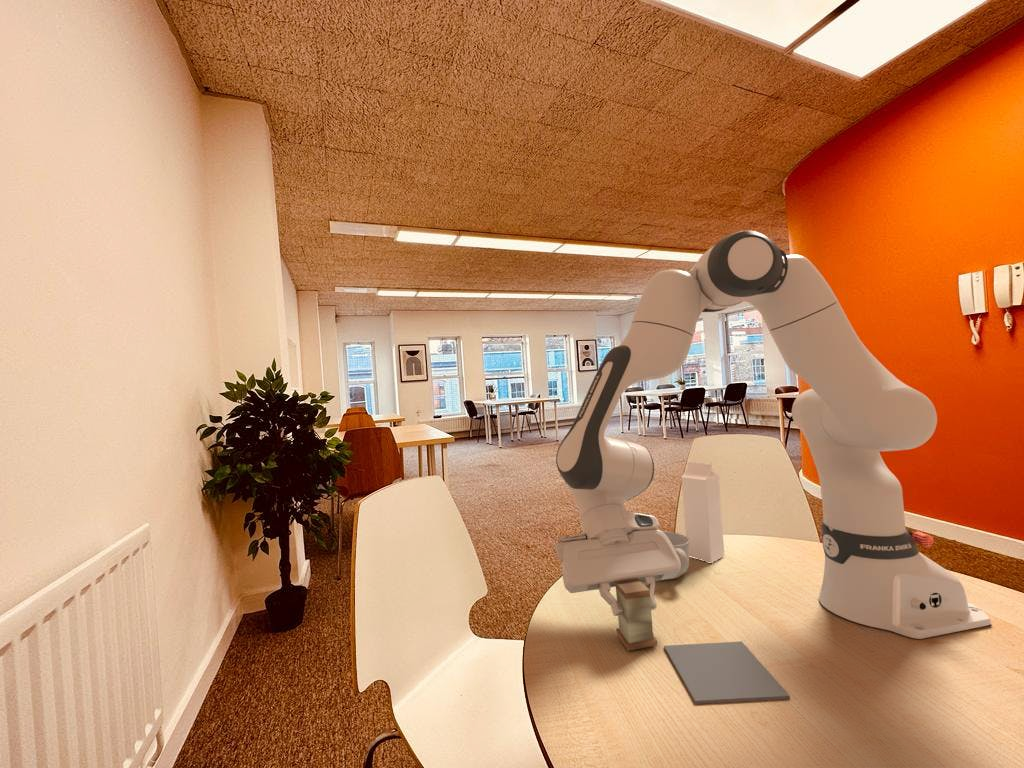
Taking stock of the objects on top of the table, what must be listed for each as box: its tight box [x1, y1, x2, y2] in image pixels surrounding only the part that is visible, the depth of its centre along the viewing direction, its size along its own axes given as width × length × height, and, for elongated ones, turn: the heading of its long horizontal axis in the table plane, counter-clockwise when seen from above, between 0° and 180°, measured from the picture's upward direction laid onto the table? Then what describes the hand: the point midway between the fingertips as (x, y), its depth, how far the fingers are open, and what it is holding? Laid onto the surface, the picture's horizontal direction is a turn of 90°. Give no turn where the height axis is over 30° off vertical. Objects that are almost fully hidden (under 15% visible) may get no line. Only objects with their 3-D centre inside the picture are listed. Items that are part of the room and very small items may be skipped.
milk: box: [681, 461, 726, 564], centre depth 101 cm, size 6×6×22 cm
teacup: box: [661, 530, 690, 580], centre depth 92 cm, size 14×11×8 cm
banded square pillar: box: [615, 579, 658, 651], centre depth 69 cm, size 5×5×8 cm
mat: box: [663, 641, 791, 705], centre depth 61 cm, size 12×12×1 cm
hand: (635, 611), depth 69 cm, fingers closed on banded square pillar, 4 cm apart
